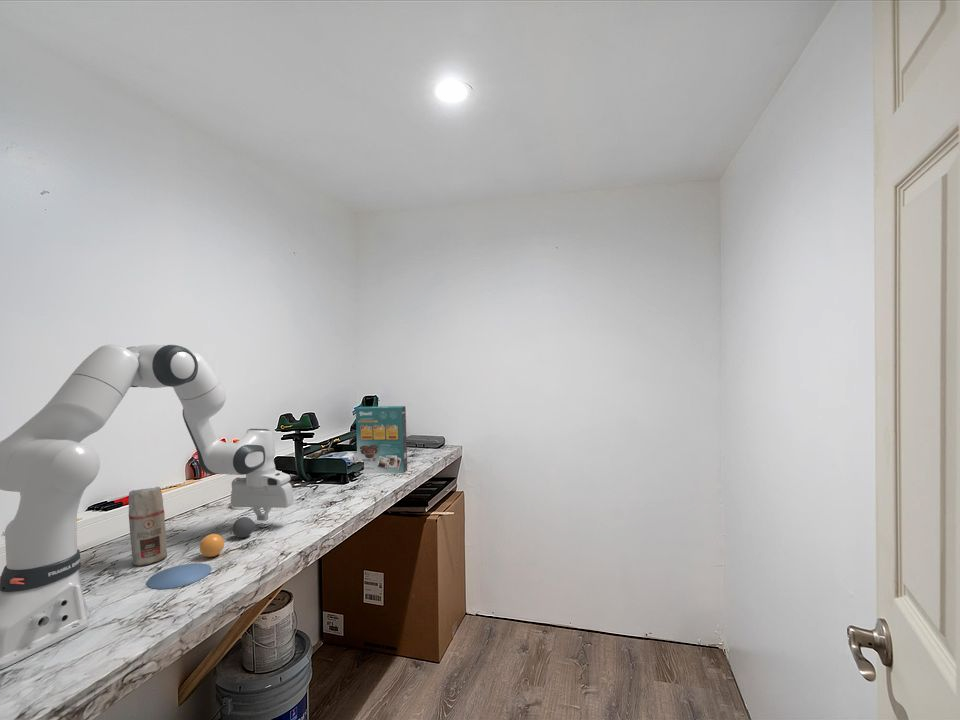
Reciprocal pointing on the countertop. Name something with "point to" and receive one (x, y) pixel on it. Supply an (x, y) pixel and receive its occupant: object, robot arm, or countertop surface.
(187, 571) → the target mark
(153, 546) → the beige paper tall bag
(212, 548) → the orange ball
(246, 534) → the black ball
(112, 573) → the countertop surface
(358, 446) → the cake mix box
